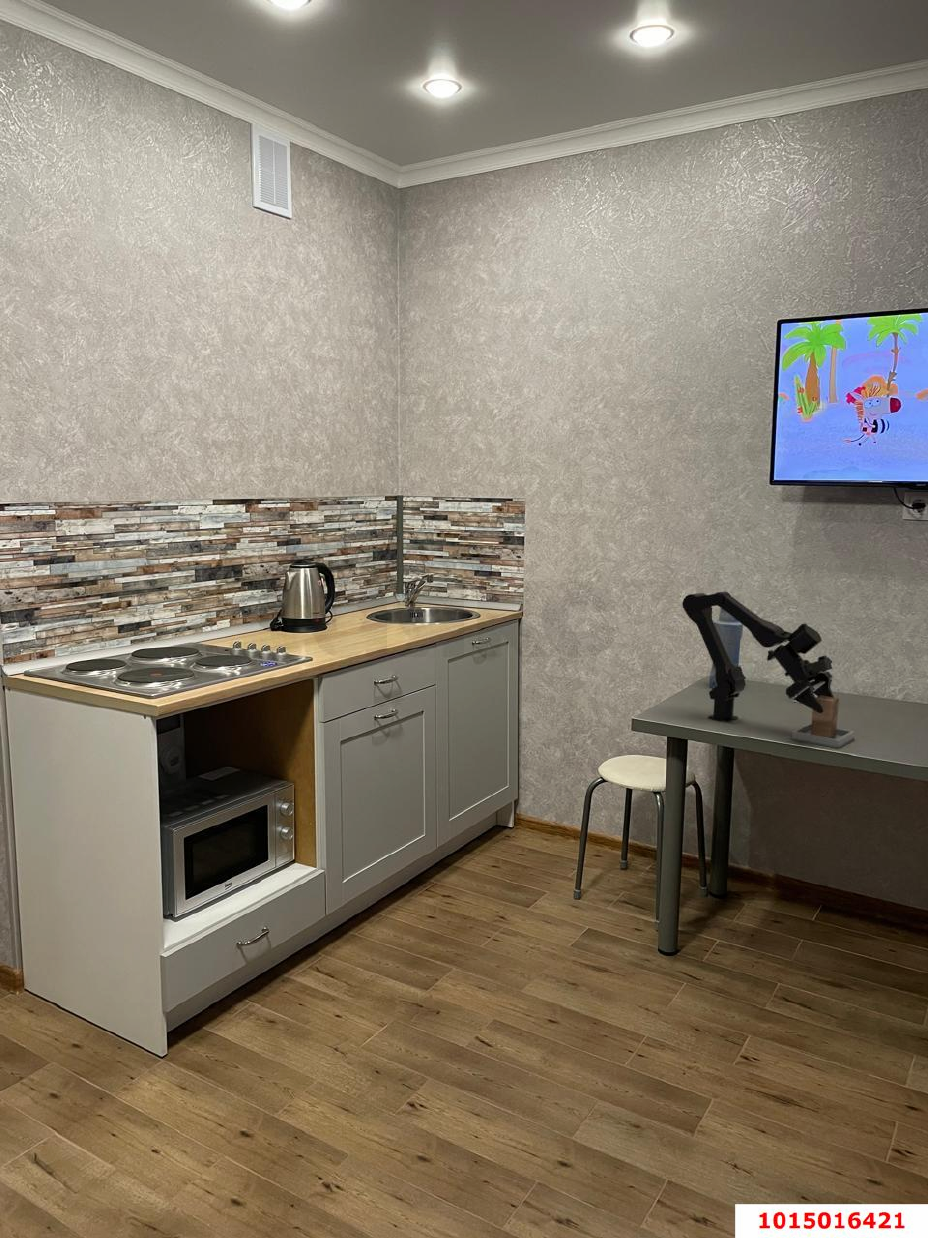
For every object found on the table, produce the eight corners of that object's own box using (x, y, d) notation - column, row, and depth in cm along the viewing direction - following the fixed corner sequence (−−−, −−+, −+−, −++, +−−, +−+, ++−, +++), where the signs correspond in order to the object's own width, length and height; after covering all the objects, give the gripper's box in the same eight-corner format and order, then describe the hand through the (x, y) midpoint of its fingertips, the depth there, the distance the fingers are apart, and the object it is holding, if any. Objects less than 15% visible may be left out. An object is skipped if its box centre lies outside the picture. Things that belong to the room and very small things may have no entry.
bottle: (707, 683, 323) (712, 598, 318) (736, 685, 322) (741, 599, 318) (711, 690, 314) (717, 602, 309) (741, 691, 313) (747, 603, 308)
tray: (837, 748, 247) (838, 740, 246) (791, 739, 255) (791, 731, 254) (854, 739, 256) (854, 731, 256) (808, 730, 264) (809, 723, 264)
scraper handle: (828, 740, 252) (831, 701, 250) (810, 737, 255) (813, 698, 254) (835, 737, 255) (839, 698, 254) (817, 733, 259) (820, 695, 257)
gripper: (800, 650, 248) (838, 698, 242) (828, 642, 261) (864, 687, 255) (770, 674, 254) (806, 721, 248) (799, 665, 268) (833, 710, 262)
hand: (828, 709), depth 253 cm, fingers open, 9 cm apart
